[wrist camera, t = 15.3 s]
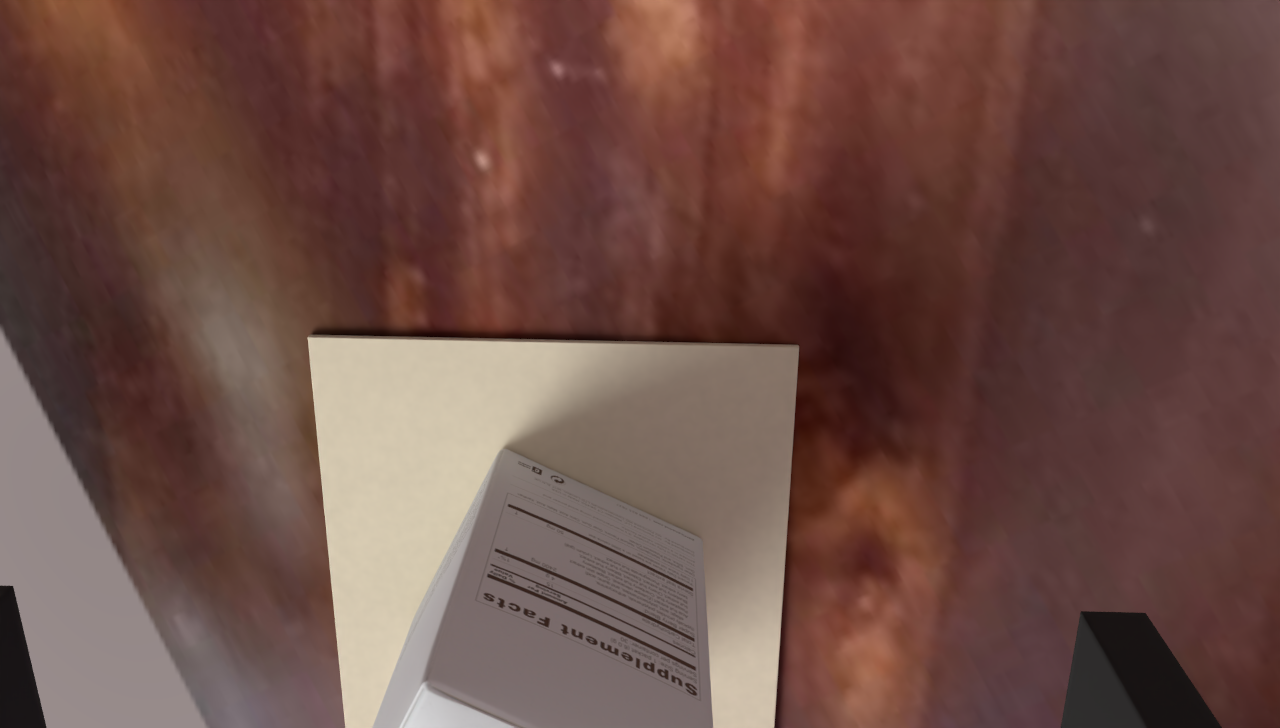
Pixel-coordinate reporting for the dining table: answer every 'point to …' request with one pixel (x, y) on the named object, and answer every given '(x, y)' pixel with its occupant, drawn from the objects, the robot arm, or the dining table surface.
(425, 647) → the rectangular carton
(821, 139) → the dining table surface
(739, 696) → the placemat
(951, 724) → the dining table surface
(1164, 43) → the dining table surface
